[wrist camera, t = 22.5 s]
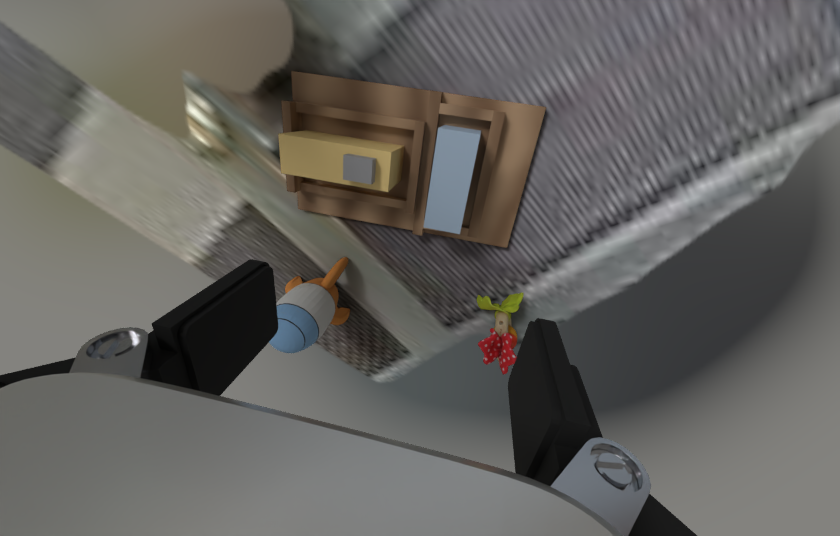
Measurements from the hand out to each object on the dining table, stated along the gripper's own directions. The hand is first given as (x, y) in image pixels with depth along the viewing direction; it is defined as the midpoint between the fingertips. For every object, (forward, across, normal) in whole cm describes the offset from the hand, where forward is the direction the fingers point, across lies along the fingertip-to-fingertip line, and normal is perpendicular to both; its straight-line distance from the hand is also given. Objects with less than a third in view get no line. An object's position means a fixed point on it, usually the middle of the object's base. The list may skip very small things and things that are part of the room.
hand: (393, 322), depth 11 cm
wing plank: (+30, 0, 0) cm, 30 cm away
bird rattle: (+31, -10, +18) cm, 37 cm away
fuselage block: (+30, +12, 0) cm, 32 cm away
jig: (+30, +6, 0) cm, 31 cm away
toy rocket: (+31, +17, +19) cm, 40 cm away
